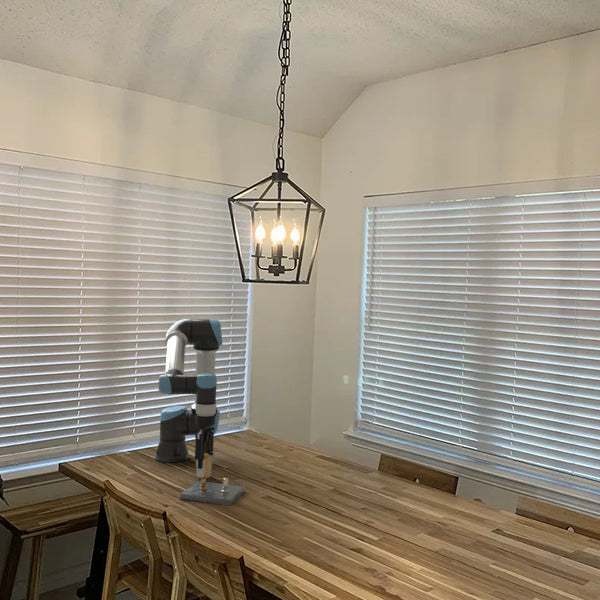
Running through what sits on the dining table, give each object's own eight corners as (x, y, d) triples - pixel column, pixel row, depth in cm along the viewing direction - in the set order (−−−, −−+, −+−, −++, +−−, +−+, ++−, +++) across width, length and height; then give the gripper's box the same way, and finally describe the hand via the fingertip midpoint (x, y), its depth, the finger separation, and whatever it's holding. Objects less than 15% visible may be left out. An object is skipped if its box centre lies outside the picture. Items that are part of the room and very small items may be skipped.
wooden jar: (200, 472, 245) (200, 451, 244) (212, 473, 243) (213, 453, 243) (194, 476, 239) (195, 455, 239) (207, 477, 238) (207, 456, 238)
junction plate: (196, 485, 251) (197, 468, 251) (244, 491, 246) (244, 473, 246) (179, 498, 235) (180, 480, 235) (230, 505, 230) (230, 486, 230)
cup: (209, 472, 268) (209, 448, 268) (215, 478, 262) (216, 453, 261) (192, 475, 264) (192, 450, 264) (198, 480, 258) (199, 455, 257)
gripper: (205, 408, 250) (203, 466, 251) (186, 418, 233) (184, 480, 233) (223, 410, 249) (221, 468, 249) (205, 419, 231) (203, 482, 232)
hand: (203, 474), depth 241 cm, fingers closed on wooden jar, 5 cm apart
